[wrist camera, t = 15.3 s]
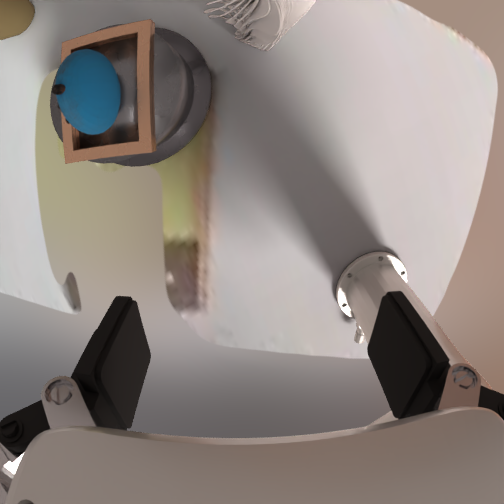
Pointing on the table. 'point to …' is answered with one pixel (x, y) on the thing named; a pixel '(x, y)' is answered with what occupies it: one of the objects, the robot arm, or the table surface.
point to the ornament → (88, 91)
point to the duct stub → (142, 96)
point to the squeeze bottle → (15, 17)
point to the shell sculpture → (262, 19)
